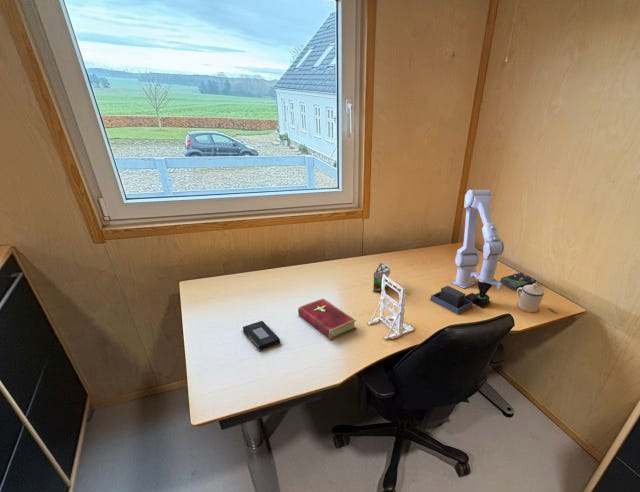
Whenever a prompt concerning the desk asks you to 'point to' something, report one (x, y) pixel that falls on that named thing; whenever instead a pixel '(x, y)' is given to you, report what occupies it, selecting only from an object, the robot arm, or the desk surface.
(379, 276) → the food container
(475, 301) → the panel
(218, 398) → the desk surface
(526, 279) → the disk drive
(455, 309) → the open rectangular tray
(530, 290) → the teacup with lid
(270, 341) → the vhs tape
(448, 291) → the dark grey block
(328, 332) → the hardcover book
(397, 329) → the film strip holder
